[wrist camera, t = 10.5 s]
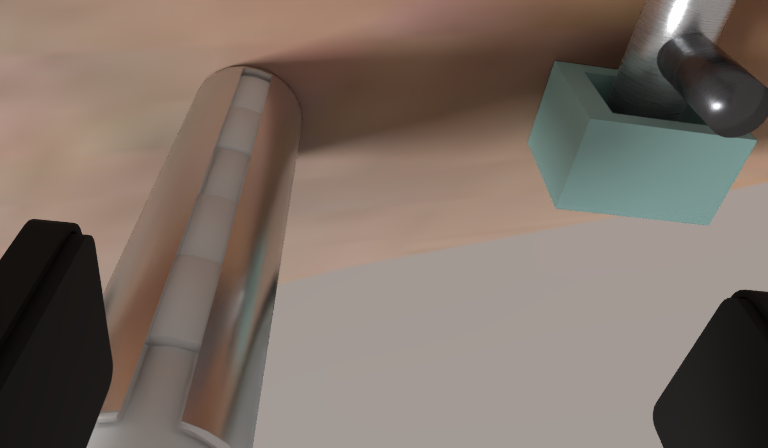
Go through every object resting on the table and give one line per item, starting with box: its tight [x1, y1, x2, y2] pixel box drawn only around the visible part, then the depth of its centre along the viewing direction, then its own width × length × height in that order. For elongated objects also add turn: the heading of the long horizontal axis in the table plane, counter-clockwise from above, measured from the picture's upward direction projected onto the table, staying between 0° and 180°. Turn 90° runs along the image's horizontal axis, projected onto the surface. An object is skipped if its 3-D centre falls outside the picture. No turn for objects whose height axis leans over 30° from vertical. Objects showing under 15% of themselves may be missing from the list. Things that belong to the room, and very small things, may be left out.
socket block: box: [528, 61, 758, 225], centre depth 36 cm, size 6×9×7 cm, turn 81°
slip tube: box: [605, 0, 768, 138], centre depth 30 cm, size 17×4×10 cm, turn 171°
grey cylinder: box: [87, 66, 302, 448], centre depth 29 cm, size 6×6×25 cm
